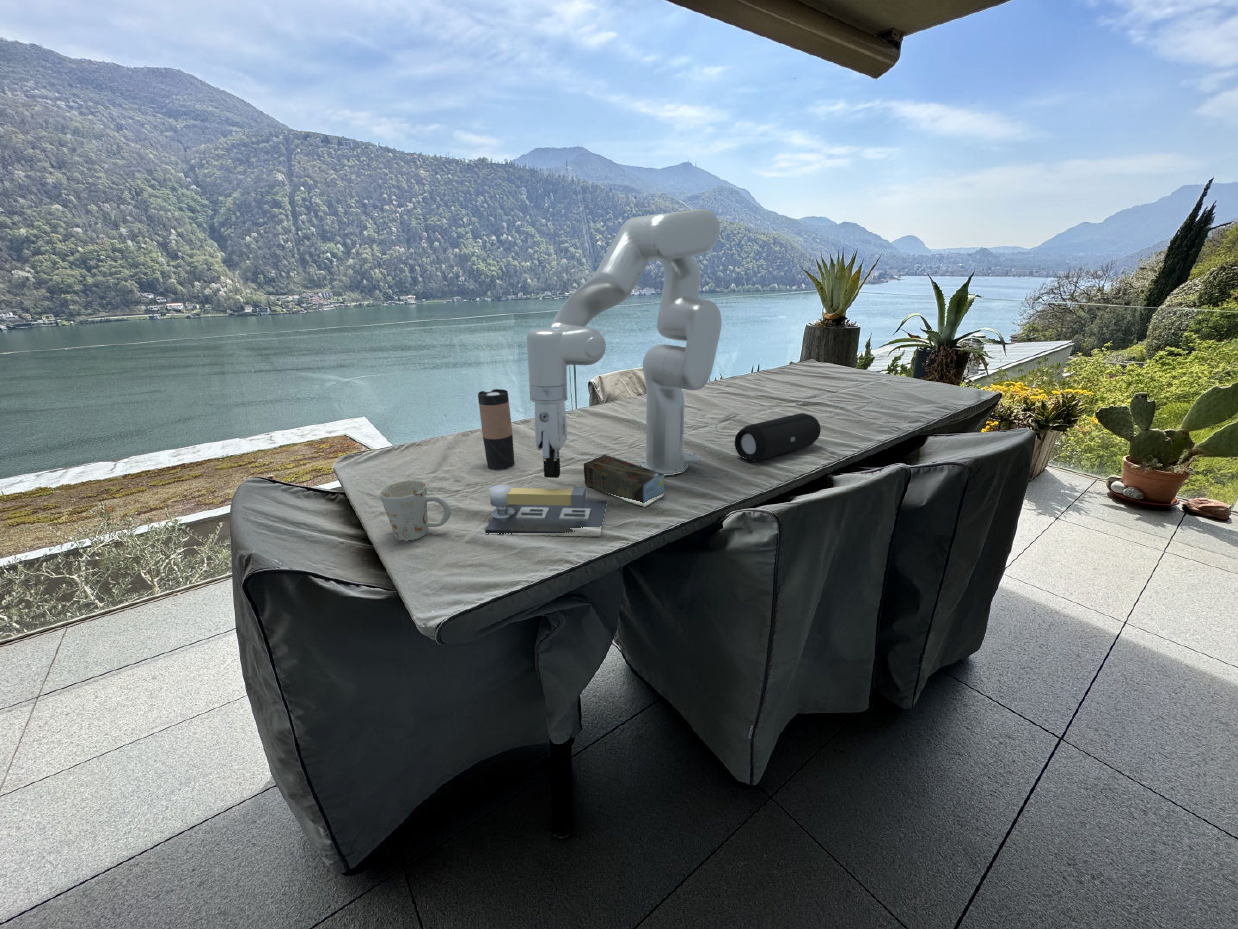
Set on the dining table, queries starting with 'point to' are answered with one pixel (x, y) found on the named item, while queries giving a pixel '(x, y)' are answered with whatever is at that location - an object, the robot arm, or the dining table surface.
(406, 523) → the mug
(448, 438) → the dining table surface
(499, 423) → the travel mug
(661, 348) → the robot arm
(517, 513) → the chassis
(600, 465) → the beverage carton
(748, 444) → the portable speaker
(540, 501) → the swing arm
